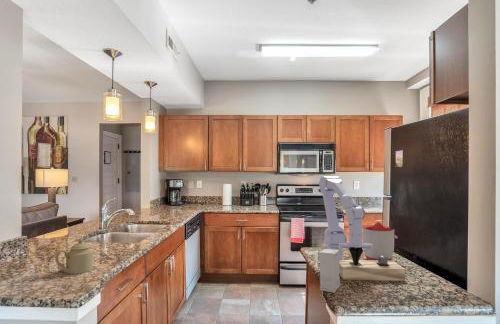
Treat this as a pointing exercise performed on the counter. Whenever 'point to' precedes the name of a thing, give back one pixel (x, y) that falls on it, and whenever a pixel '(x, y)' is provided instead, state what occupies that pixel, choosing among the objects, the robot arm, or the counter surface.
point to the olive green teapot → (77, 258)
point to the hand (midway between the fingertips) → (355, 264)
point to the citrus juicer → (379, 241)
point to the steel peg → (382, 260)
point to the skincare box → (329, 270)
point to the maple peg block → (371, 271)
